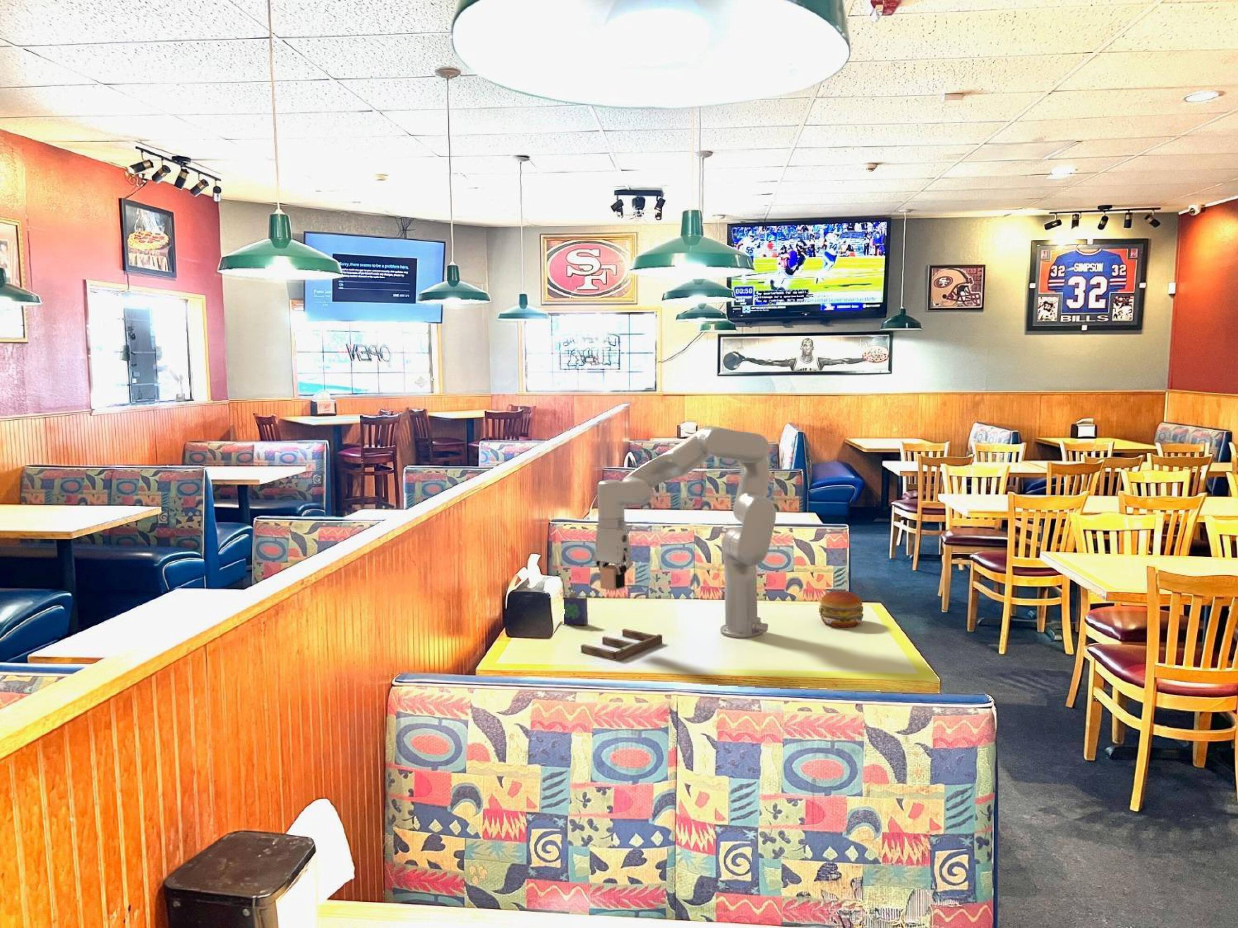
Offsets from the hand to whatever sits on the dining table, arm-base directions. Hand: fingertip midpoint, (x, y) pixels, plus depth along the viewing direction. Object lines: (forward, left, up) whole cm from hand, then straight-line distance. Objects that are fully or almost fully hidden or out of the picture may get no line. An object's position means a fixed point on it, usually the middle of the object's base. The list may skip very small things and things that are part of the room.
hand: (612, 585), depth 255 cm
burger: (-43, -56, -18) cm, 73 cm away
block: (0, 0, -1) cm, 1 cm away
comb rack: (-2, +1, -18) cm, 18 cm away
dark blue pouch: (+25, -9, -18) cm, 32 cm away
